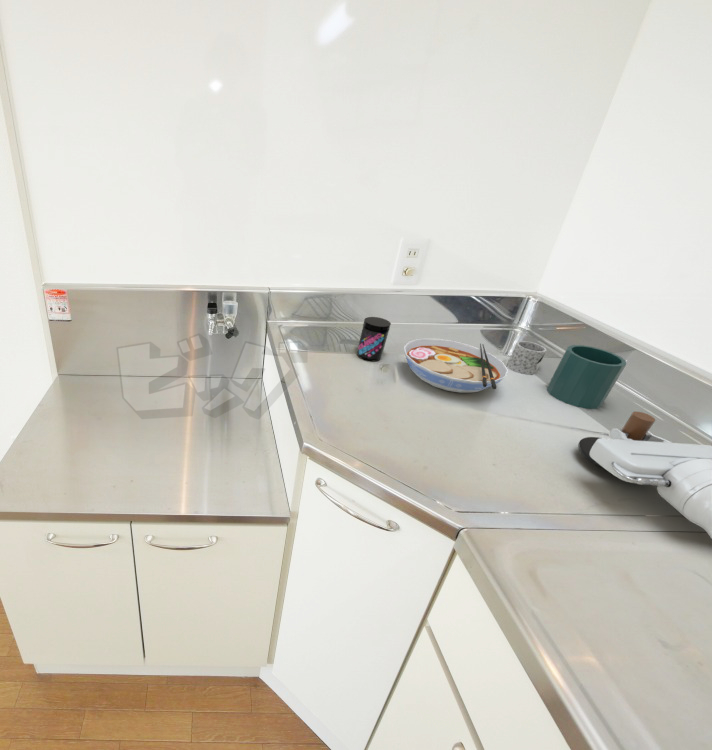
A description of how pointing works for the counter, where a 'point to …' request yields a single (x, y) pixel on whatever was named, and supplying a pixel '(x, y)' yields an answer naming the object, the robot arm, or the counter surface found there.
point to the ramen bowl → (454, 365)
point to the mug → (526, 357)
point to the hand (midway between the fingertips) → (627, 432)
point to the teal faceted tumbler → (585, 376)
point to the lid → (634, 426)
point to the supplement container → (373, 338)
